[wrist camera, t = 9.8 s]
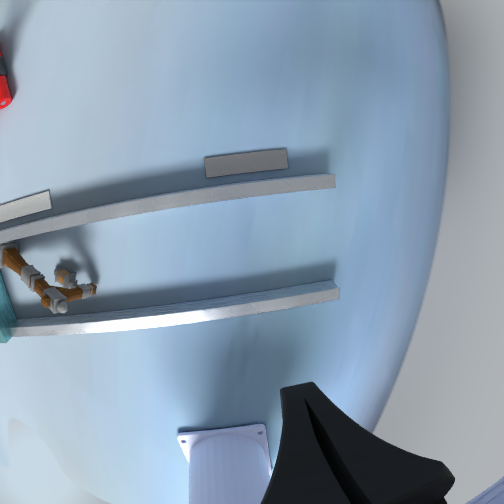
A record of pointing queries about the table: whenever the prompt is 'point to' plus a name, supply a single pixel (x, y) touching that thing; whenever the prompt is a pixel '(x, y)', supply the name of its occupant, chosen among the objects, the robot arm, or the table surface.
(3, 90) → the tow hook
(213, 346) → the table surface
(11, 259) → the wooden post with brackets
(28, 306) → the table surface
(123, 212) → the guide rail
